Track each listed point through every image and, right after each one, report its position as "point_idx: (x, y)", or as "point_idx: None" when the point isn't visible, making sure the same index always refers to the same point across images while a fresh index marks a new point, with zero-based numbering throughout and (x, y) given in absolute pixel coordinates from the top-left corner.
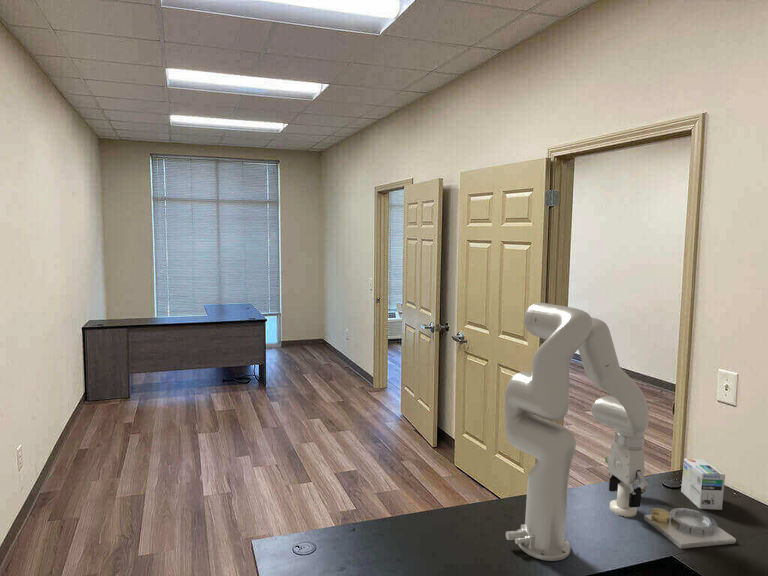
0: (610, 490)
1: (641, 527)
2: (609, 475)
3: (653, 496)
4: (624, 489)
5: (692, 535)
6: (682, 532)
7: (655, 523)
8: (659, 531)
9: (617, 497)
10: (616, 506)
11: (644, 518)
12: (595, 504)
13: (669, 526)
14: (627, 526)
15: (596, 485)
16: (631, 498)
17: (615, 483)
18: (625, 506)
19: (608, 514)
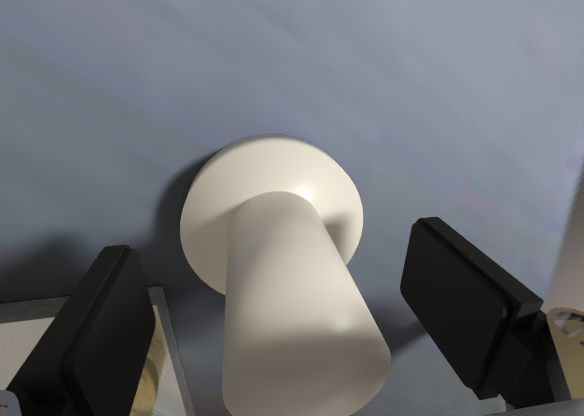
0: (420, 223)
1: (43, 225)
2: (580, 319)
3: (372, 399)
4: (239, 339)
5: None
6: None
7: (39, 321)
8: (4, 303)
9: (298, 223)
10: (272, 180)
11: (157, 290)
12: (386, 64)
13: (14, 374)
14: (37, 131)
15: (563, 213)
16: (66, 323)
17: (449, 305)
18: (228, 235)
19: (229, 80)
